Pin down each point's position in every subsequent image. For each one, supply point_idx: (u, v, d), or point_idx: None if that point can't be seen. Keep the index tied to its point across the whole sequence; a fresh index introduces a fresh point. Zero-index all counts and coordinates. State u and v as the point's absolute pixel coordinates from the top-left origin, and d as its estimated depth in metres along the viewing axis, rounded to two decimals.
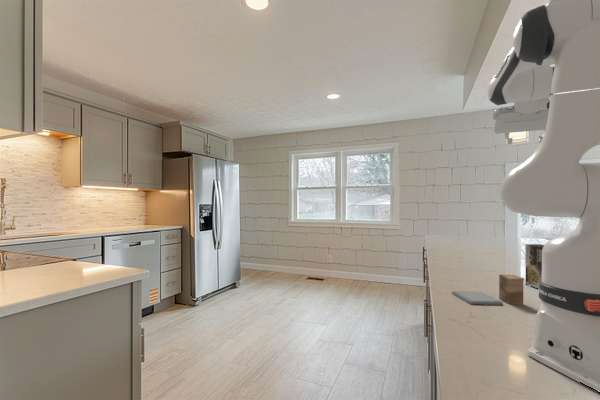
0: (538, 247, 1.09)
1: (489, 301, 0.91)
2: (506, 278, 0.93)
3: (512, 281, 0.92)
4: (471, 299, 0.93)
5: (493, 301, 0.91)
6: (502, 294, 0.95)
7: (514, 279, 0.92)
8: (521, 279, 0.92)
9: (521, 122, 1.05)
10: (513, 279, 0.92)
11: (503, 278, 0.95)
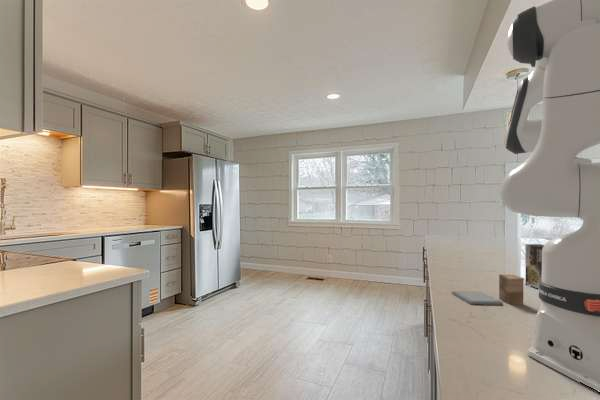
0: (538, 247, 1.09)
1: (489, 301, 0.91)
2: (506, 278, 0.93)
3: (512, 281, 0.92)
4: (471, 299, 0.93)
5: (493, 301, 0.91)
6: (502, 294, 0.95)
7: (514, 279, 0.92)
8: (521, 279, 0.92)
9: None
10: (513, 279, 0.92)
11: (503, 278, 0.95)
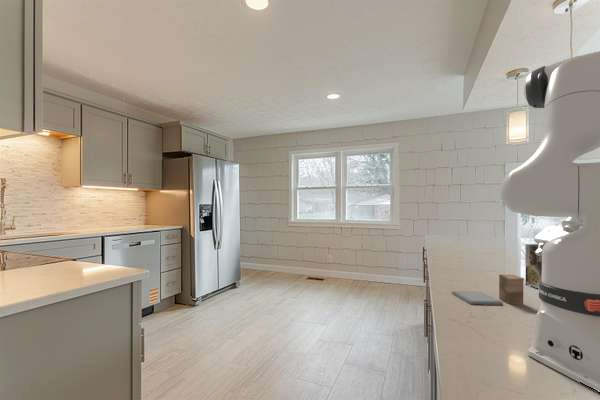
0: None
1: (489, 301, 0.91)
2: (506, 278, 0.93)
3: (512, 281, 0.92)
4: (471, 299, 0.93)
5: (493, 301, 0.91)
6: (502, 294, 0.95)
7: (514, 279, 0.92)
8: (521, 279, 0.92)
9: (558, 234, 0.97)
10: (513, 279, 0.92)
11: (503, 278, 0.95)
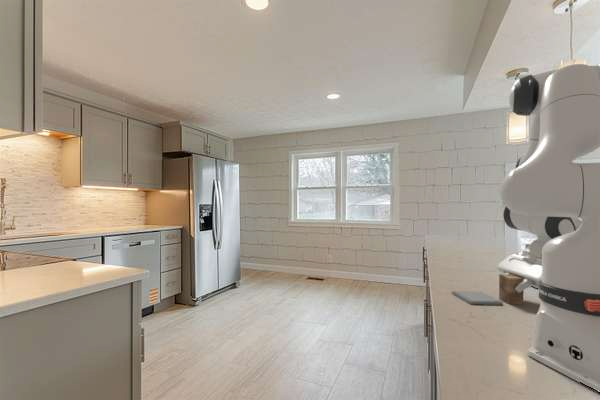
0: None
1: (489, 301, 0.91)
2: (506, 278, 0.93)
3: (512, 281, 0.92)
4: (471, 299, 0.93)
5: (493, 301, 0.91)
6: (502, 294, 0.95)
7: (514, 279, 0.92)
8: (521, 279, 0.92)
9: (518, 265, 0.96)
10: (513, 279, 0.92)
11: (503, 278, 0.95)
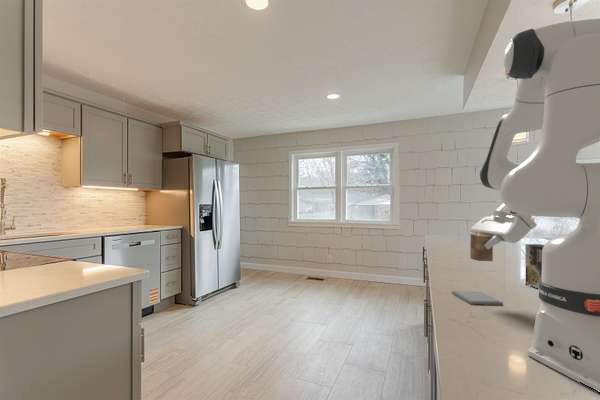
0: (538, 247, 1.09)
1: (489, 301, 0.91)
2: (476, 236, 0.95)
3: (482, 239, 0.94)
4: (471, 299, 0.93)
5: (493, 301, 0.91)
6: (473, 252, 0.97)
7: (484, 236, 0.94)
8: (490, 236, 0.94)
9: (489, 224, 0.98)
10: (483, 236, 0.94)
11: (474, 237, 0.97)
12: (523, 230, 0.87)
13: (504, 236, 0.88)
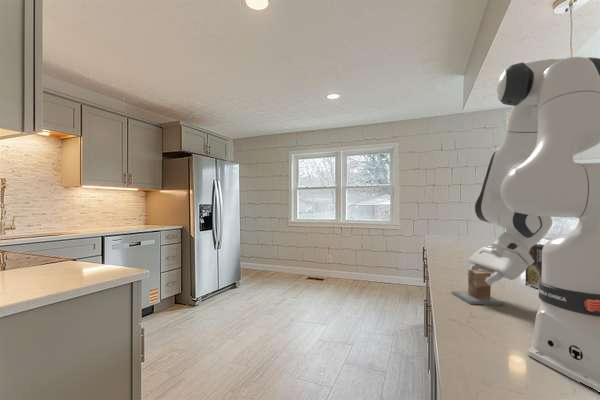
0: (538, 247, 1.09)
1: (489, 301, 0.91)
2: (474, 273, 0.95)
3: (480, 276, 0.94)
4: (471, 299, 0.93)
5: (493, 301, 0.91)
6: (471, 288, 0.97)
7: (481, 274, 0.94)
8: (488, 274, 0.94)
9: (487, 257, 0.98)
10: (480, 274, 0.94)
11: (471, 273, 0.97)
12: (521, 267, 0.87)
13: (502, 272, 0.88)
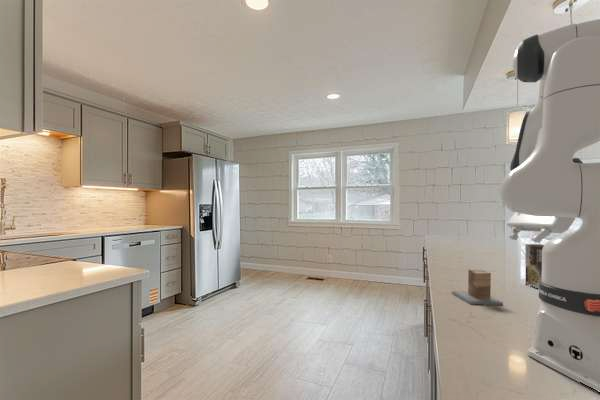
0: (538, 247, 1.09)
1: (489, 301, 0.91)
2: (474, 273, 0.95)
3: (480, 276, 0.94)
4: (471, 299, 0.93)
5: (493, 301, 0.91)
6: (471, 288, 0.97)
7: (481, 274, 0.94)
8: (488, 274, 0.94)
9: (528, 216, 0.97)
10: (480, 274, 0.94)
11: (471, 273, 0.97)
12: (569, 219, 0.86)
13: (550, 227, 0.87)
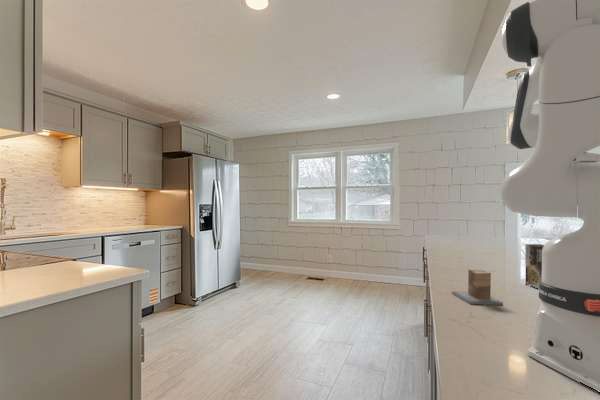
0: (538, 247, 1.09)
1: (489, 301, 0.91)
2: (474, 273, 0.95)
3: (480, 276, 0.94)
4: (471, 299, 0.93)
5: (493, 301, 0.91)
6: (471, 288, 0.97)
7: (481, 274, 0.94)
8: (488, 274, 0.94)
9: None
10: (480, 274, 0.94)
11: (471, 273, 0.97)
12: None
13: None
